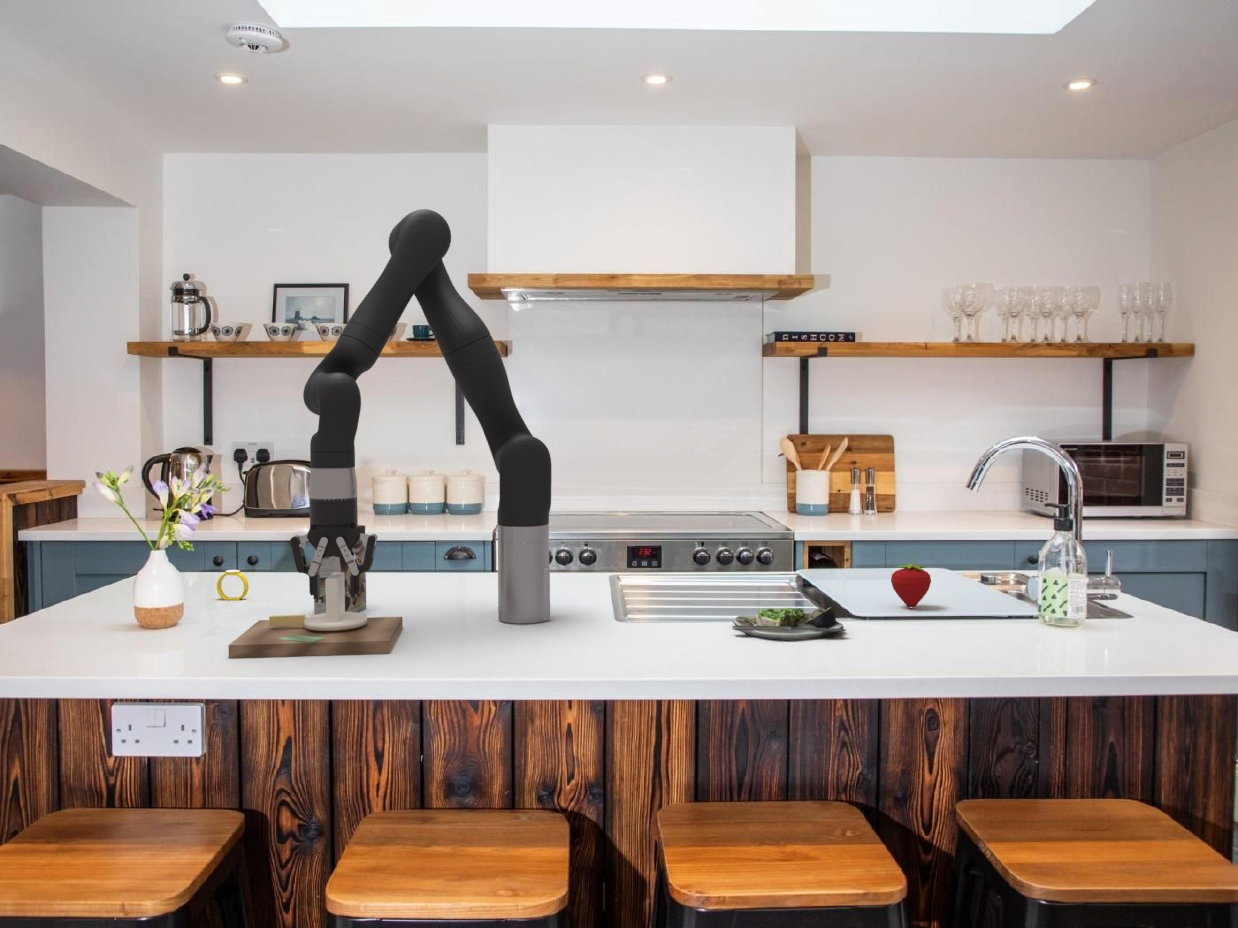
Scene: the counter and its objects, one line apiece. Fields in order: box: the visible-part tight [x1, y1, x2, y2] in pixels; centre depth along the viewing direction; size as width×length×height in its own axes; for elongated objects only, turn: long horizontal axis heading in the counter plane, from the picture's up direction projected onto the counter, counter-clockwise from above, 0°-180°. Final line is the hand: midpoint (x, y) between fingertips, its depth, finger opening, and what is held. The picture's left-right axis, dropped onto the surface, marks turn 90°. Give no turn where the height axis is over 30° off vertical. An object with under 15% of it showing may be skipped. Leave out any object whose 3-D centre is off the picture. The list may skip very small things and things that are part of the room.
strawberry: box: [890, 554, 932, 608], centre depth 184 cm, size 6×8×10 cm
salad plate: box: [732, 606, 846, 641], centre depth 166 cm, size 19×18×5 cm
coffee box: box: [312, 524, 367, 615], centre depth 182 cm, size 9×6×16 cm
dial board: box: [228, 616, 404, 659], centre depth 159 cm, size 24×18×2 cm
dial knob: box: [268, 572, 368, 631], centre depth 160 cm, size 16×10×8 cm, turn 96°
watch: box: [216, 569, 249, 601], centre depth 196 cm, size 6×3×6 cm, turn 87°
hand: (335, 597), depth 160 cm, fingers open, 5 cm apart
